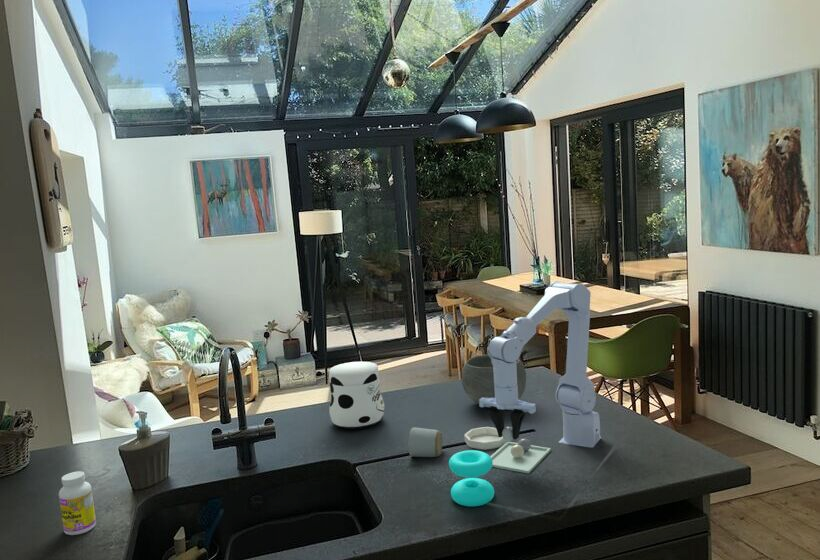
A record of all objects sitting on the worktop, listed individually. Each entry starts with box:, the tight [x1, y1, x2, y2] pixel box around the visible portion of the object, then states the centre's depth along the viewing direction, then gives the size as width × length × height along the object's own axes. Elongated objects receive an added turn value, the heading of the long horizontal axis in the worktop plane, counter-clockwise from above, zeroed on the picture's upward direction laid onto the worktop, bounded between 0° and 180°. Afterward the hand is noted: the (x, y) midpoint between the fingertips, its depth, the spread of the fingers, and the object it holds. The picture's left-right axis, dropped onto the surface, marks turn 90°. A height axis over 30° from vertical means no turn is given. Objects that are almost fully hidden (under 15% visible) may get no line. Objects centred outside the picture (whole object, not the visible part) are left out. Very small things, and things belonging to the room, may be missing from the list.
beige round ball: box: [511, 445, 524, 458], centre depth 166 cm, size 3×3×3 cm
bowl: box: [461, 353, 527, 404], centre depth 210 cm, size 21×21×15 cm
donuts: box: [448, 449, 495, 507], centre depth 147 cm, size 10×10×10 cm
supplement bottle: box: [58, 470, 97, 536], centre depth 146 cm, size 7×7×13 cm
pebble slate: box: [517, 437, 532, 452], centre depth 170 cm, size 3×3×3 cm
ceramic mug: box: [407, 426, 443, 458], centre depth 175 cm, size 11×8×8 cm
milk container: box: [328, 361, 385, 430], centre depth 202 cm, size 17×17×18 cm
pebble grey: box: [502, 426, 514, 442], centre depth 162 cm, size 3×3×3 cm
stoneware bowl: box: [463, 426, 509, 450], centre depth 179 cm, size 11×11×2 cm
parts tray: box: [489, 441, 552, 475], centre depth 166 cm, size 12×15×1 cm
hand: (508, 436), depth 162 cm, fingers closed on pebble grey, 3 cm apart
